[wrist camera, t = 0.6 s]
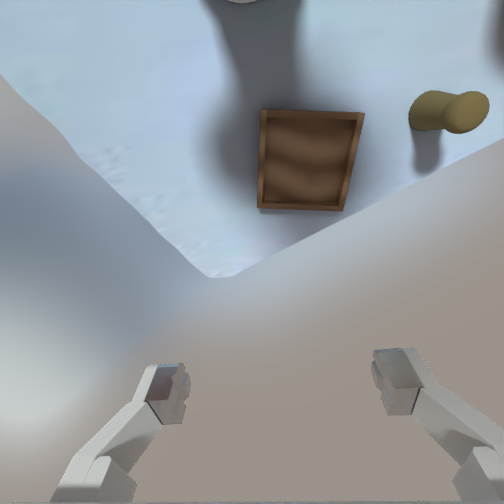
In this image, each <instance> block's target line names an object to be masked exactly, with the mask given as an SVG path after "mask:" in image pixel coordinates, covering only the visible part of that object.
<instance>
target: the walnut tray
mask: <svg viewBox="0 0 504 504" xmlns="http://www.w3.org/2000/svg"><path fill="white" fill-rule="evenodd" d="M364 116H365V113H360V112H332V111H302V110H271V109H261V118H260V143H259V168H258V193H257V208H272V209H298V210H324V211H343V208H344V204H345V200H346V195H347V191H348V186H349V182H350V178H351V173H352V169H353V164H354V160H355V156H356V151H357V147H358V142H359V138H360V134H361V129H362V125H363V120H364Z"/></svg>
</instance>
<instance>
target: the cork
mask: <svg viewBox="0 0 504 504" xmlns="http://www.w3.org/2000/svg"><path fill="white" fill-rule="evenodd" d="M489 106H490V105H489V100H488V98H487V97H486V95H484V94H482V93H480V92H478V91H469V92H466V93H462V94H460V95H455V94H451V93H446V92H441V91H432V90H431V91H428V92H425V93H423V94H422V95H420V96H419V97H418V98H417V99H416V100H415V101H414V103H413V104H412V106H411V108H410V111H409V123H410V125H411V126H412V127H413V128H414V129H416V130H420V131H425V130H438V129H446V130H447V131H449V132H451V133H454V134H462V133H466V132H469V131H471V130H473V129H475V128H476V127H477V126H479V125H480V124H481V123H482V122H483V121H484V119H485V118H486V116H487V114H488V112H489Z"/></svg>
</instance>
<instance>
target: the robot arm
mask: <svg viewBox="0 0 504 504" xmlns="http://www.w3.org/2000/svg"><path fill="white" fill-rule="evenodd" d="M228 1H231V2H235V3H249V2H253V1H256V0H228ZM373 357H374V361H373V362H372V365H371V369H372V376H373V379H374V382H375V385H376V387H377V388H379V389H380V390H381V391H382V393H381V400H382V402H383V405H384V407H385V410H386V412H387V415H411V417H412V418H413V419H414V420H415V421H416V422H417V423H418V424H419V425H420V426H421V427H422V428H423V429H424V430H425V431H426V432H427V433H428V434H429V435H430V436H431V437H432V438H433V439H434V440H435V441H436V442H437V443H438V444H439V445H440V446H441V447H442V448H443V449H444V450H445V451H446V452H447V453H448V454H449V455H450V456H451V457H452V458H453V459H454V460H455V461H456V462H457V463H458V464H459V465H460V466H461V467H460V469H459V470H458V472H457V473H456V475H455V476H454V478H453V481H452V482H453V484H454V486H455V488H456V490H457V492H458V494H459V496H460V498H461V500H462V501H305V502H304V501H295V502H293V501H292V502H291V501H289V502H287V501H285V502H132V500H133V497H134V493H135V490H136V487H137V484H136V481H135V480H134V479H133V478H132V477H131V476H129V474H128V473H129V471H130V470H131V469H132V467H133V466H134V464H135V463H136V462H137V461H138V459H139V458H140V456H141V455H142V454H143V452H144V451H145V450H146V448H147V447H148V445H149V444H150V443H151V441H152V440H153V439H154V437H155V436H156V435H157V433H158V432H159V431H160V429H161V428H162V425H167V424H181V423H182V420H183V416H184V412H185V408H186V406H185V404H184V401H185V400H186V398H187V397H188V396H189V392H190V377H189V375H188V373H186V372H184V370H185V366H184V364H183V363H176V364H154V365H149V366H148V367H147V368H146V370H145V372H144V374H143V376H142V379H141V381H140V383H139V386H138V388H137V390H136V392H135V395H134V397H133V400H132V402H131V403H127V404H126V405H125V406H124V407H123V408H122V409H121V410H120V411H119V412H118V413H117V414H116V415H115V416H114V417H113V418H112V419H111V420H110V421H109V422H108V423H107V424H106V425H105V426H104V427H103V428H102V429H101V430H100V431H99V432H98V433H97V434H96V435H95V436H94V437H93V438H91V440H90V441H88V442H87V444H85V446H83V447H82V448H81V449H80V450H79V451H78V452H77V453H76V454H75V455H74V457H73V458H72V461H71V462H70V464H69V466H68V468H67V470H66V472H65V474H64V476H63V477H62V479H61V481H60V483H59V485H58V487H57V489H56V491H55V493H54V495H53V496H52V498H51V500H50V502H49V503H0V504H504V429H503V428H501V427H500V426H499V425H497V424H496V423H494V422H493V421H491V420H490V419H489V418H487V417H486V416H484V415H483V414H482V413H480V412H479V411H477V410H476V409H475V408H473V407H472V406H470V405H469V404H468V403H466V402H465V401H464V400H462V399H461V398H459V397H458V396H457V395H455V394H454V393H452V392H451V391H450V390H448V389H447V388H445V387H440V386H439V384H438V383H437V381H436V380H435V378H434V376H433V374H432V373H431V371H430V370H429V368H428V366H427V365H426V363H425V362H424V360H423V359H422V357H421V355H420V354H419V352H418V351H417V349H415V348H413V347H410V348H393V349H382V350H374V352H373Z"/></svg>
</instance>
